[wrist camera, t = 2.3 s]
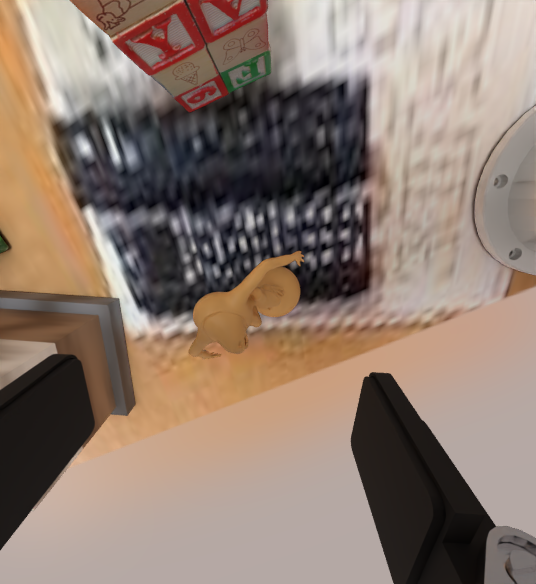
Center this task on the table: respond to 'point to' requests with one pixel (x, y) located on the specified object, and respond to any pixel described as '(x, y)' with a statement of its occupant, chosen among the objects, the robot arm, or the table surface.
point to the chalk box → (3, 245)
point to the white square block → (68, 346)
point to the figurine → (245, 306)
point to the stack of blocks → (189, 42)
